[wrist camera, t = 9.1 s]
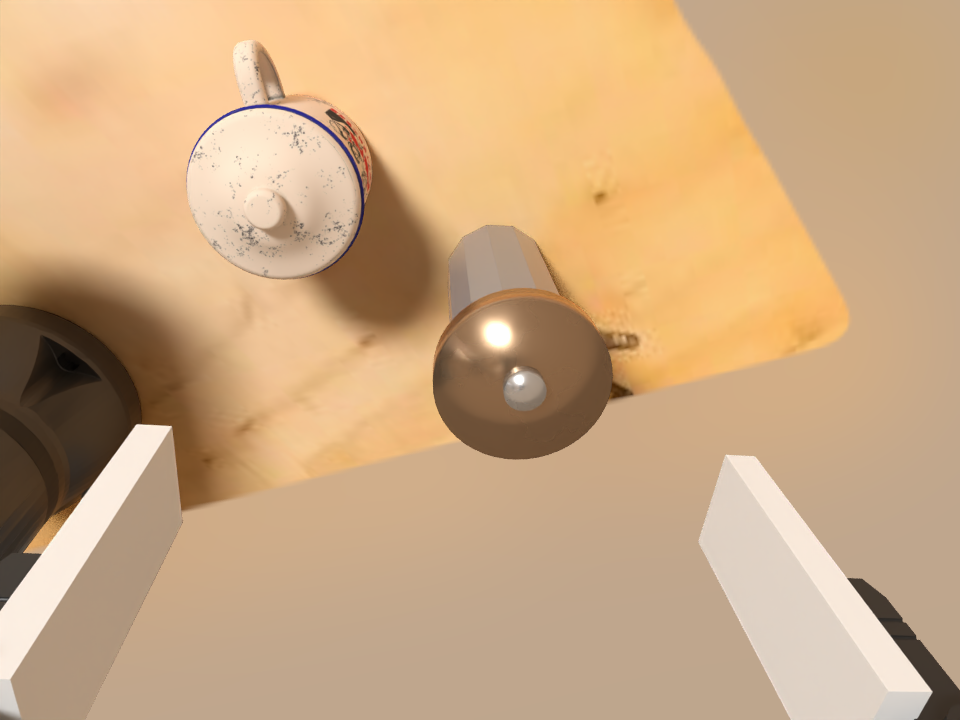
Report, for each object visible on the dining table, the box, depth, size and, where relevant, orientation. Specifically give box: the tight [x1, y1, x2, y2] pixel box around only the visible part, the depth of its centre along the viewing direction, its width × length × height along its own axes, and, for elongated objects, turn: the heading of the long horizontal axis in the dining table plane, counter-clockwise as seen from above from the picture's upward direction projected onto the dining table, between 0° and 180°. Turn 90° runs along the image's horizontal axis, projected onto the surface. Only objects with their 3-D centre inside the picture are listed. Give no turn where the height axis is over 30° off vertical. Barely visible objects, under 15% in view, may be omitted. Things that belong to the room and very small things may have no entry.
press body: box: [448, 225, 560, 322], centre depth 41 cm, size 7×9×14 cm
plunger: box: [433, 288, 613, 459], centre depth 38 cm, size 9×9×14 cm
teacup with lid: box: [186, 40, 372, 279], centre depth 37 cm, size 12×9×12 cm
